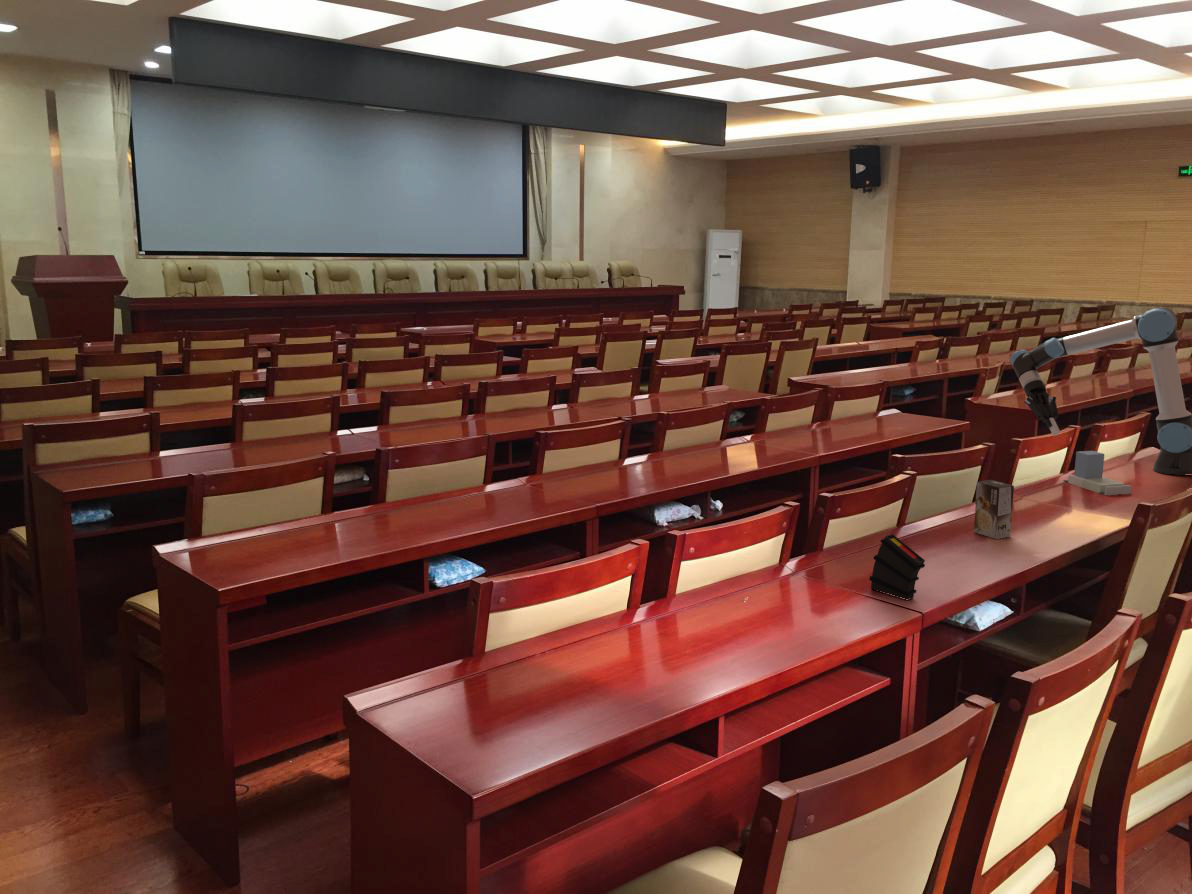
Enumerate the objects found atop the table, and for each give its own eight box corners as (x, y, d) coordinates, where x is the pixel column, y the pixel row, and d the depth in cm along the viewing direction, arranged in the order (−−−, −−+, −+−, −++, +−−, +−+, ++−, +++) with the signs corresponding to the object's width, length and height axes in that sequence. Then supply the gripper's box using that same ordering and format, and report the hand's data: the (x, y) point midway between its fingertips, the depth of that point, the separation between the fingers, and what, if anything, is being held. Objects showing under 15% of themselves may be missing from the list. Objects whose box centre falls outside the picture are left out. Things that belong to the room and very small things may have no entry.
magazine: (868, 577, 249) (892, 532, 242) (906, 611, 241) (933, 565, 234) (859, 580, 247) (883, 535, 240) (897, 614, 239) (924, 569, 232)
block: (1090, 474, 357) (1092, 450, 356) (1102, 477, 352) (1104, 453, 350) (1074, 475, 356) (1076, 451, 354) (1085, 478, 350) (1087, 454, 348)
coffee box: (1011, 537, 290) (1015, 485, 287) (995, 539, 287) (1000, 487, 284) (987, 529, 298) (991, 479, 295) (972, 532, 295) (976, 481, 292)
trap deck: (1086, 479, 362) (1087, 472, 361) (1130, 493, 340) (1131, 485, 340) (1063, 481, 360) (1064, 473, 359) (1106, 495, 338) (1106, 487, 338)
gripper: (1042, 389, 386) (1066, 438, 373) (1013, 390, 384) (1036, 439, 371) (1052, 378, 380) (1076, 427, 367) (1022, 379, 377) (1046, 428, 365)
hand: (1056, 433), depth 369 cm, fingers closed
